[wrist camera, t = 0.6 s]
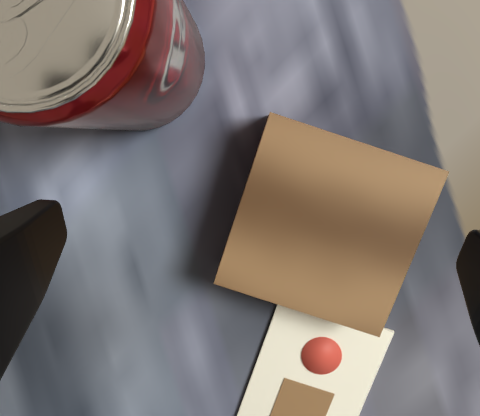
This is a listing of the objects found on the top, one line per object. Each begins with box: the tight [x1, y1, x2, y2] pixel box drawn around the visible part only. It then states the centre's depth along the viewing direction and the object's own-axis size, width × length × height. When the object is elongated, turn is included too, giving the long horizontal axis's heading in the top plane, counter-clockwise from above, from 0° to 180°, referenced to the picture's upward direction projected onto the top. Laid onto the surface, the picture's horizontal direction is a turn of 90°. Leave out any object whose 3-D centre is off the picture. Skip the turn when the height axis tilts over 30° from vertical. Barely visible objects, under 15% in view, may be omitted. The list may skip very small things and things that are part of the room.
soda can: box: [0, 0, 205, 130], centre depth 16 cm, size 7×7×12 cm
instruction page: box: [237, 304, 394, 416], centre depth 25 cm, size 10×7×1 cm
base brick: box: [214, 112, 449, 337], centre depth 22 cm, size 9×9×3 cm
